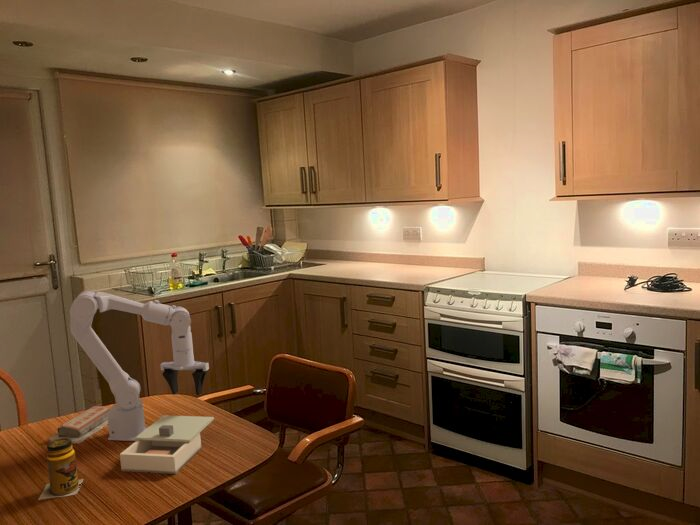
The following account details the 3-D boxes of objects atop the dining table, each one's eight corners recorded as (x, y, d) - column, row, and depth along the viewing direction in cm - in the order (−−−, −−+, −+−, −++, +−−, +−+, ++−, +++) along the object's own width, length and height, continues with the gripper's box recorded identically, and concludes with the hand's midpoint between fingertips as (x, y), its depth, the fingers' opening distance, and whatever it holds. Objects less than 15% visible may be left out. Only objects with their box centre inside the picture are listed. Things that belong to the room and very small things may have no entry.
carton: (121, 471, 146) (119, 454, 145) (151, 445, 159) (149, 430, 159) (175, 474, 143) (174, 456, 142) (201, 448, 156) (200, 432, 156)
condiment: (77, 494, 135) (70, 446, 134) (37, 501, 134) (31, 452, 132) (83, 479, 143) (78, 433, 141) (46, 485, 141) (40, 438, 139)
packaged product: (88, 403, 182) (116, 404, 180) (90, 418, 183) (118, 419, 181) (47, 427, 165) (77, 429, 163) (49, 443, 166) (79, 445, 163)
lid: (135, 439, 153) (134, 429, 152) (164, 417, 167) (163, 408, 166) (189, 441, 149) (188, 431, 149) (214, 419, 163) (213, 409, 163)
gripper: (153, 352, 166) (157, 397, 168) (199, 353, 163) (203, 399, 165) (165, 345, 173) (170, 389, 175) (210, 346, 170) (214, 390, 172)
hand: (187, 393), depth 171 cm, fingers open, 7 cm apart
